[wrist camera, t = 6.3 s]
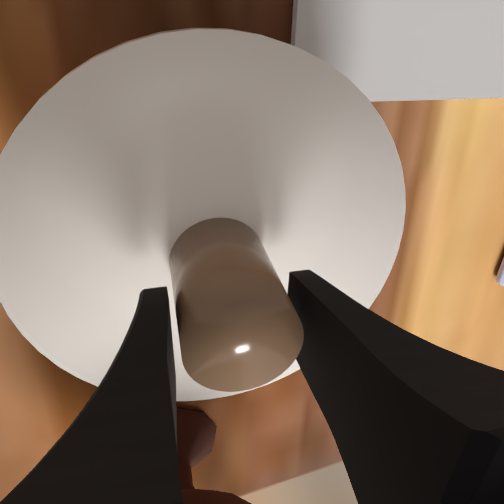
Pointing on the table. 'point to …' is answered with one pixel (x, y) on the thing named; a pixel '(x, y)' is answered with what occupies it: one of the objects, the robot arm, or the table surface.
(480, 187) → the table surface
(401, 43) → the mat
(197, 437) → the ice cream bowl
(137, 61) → the lid
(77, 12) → the table surface
